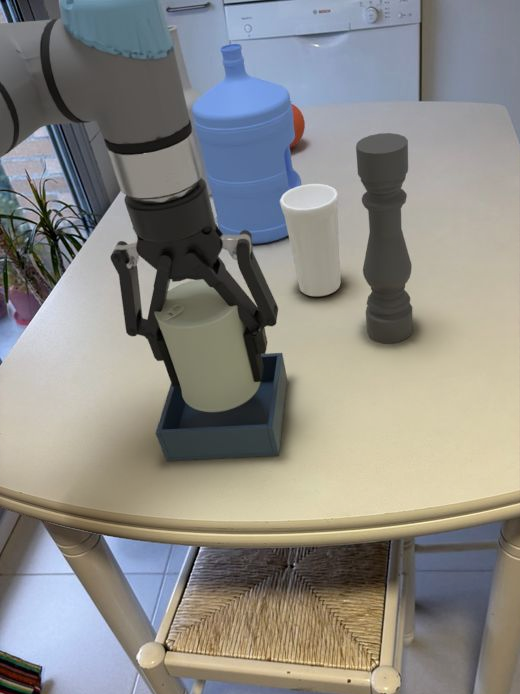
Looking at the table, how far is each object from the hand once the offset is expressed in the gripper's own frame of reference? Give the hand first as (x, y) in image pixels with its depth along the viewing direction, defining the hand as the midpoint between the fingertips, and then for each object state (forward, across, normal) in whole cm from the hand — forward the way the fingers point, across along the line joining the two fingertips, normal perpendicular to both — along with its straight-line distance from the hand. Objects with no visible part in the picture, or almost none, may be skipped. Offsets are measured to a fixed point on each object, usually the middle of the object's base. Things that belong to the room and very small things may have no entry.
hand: (218, 376), depth 74 cm
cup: (+7, -10, -28) cm, 30 cm away
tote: (+7, 0, 0) cm, 7 cm away
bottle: (+7, +14, -67) cm, 69 cm away
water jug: (+7, +1, -50) cm, 50 cm away
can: (+2, 0, 0) cm, 2 cm away
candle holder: (+7, -20, -16) cm, 26 cm away
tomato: (+7, 0, -84) cm, 84 cm away
